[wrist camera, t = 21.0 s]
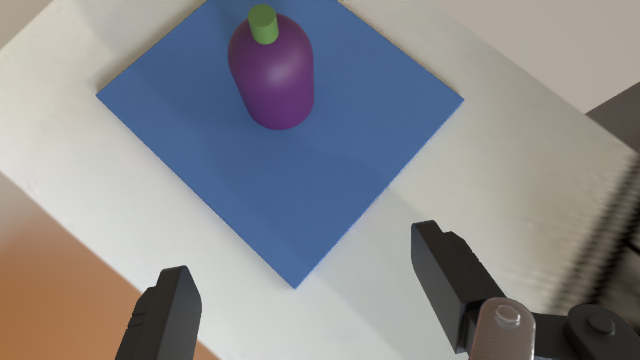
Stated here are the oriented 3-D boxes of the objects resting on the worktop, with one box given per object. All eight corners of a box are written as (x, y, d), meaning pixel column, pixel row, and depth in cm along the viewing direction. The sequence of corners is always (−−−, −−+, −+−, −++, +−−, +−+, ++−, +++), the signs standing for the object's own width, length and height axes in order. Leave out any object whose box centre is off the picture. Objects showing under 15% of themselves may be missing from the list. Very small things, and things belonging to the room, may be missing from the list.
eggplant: (307, 62, 27) (303, -33, 18) (319, 124, 25) (320, 51, 17) (241, 73, 26) (205, -19, 18) (250, 135, 25) (216, 68, 17)
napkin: (462, 101, 26) (465, 99, 26) (295, 289, 23) (294, 289, 23) (269, -48, 30) (269, -52, 29) (98, 97, 26) (94, 95, 26)
